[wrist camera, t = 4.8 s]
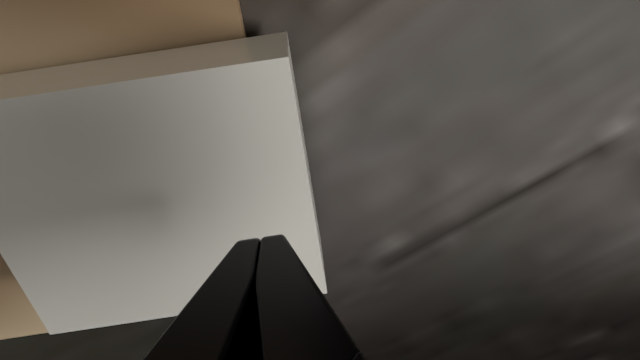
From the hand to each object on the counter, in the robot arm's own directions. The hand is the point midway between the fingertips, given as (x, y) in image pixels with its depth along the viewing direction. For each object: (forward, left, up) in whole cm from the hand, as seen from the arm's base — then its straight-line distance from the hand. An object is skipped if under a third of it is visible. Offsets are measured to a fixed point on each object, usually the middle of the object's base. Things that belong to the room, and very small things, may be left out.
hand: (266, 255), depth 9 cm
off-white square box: (0, -1, -3) cm, 3 cm away
